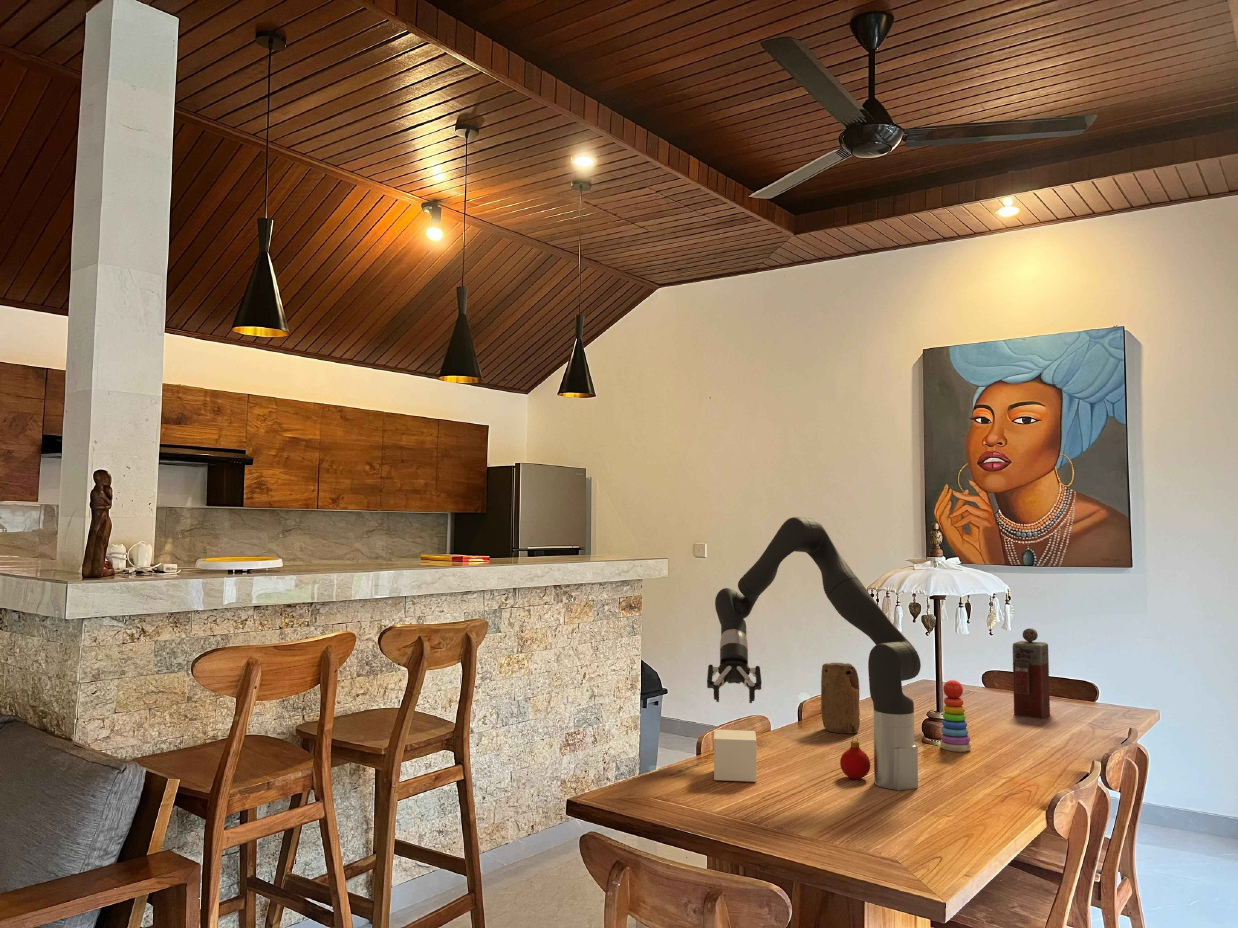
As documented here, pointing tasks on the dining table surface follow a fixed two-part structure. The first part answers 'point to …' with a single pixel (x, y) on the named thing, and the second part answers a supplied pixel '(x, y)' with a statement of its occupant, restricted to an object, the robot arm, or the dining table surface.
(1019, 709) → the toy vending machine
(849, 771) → the christmas ornament
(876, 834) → the dining table surface
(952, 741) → the stacking toy
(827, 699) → the block
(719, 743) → the plain beige cube
